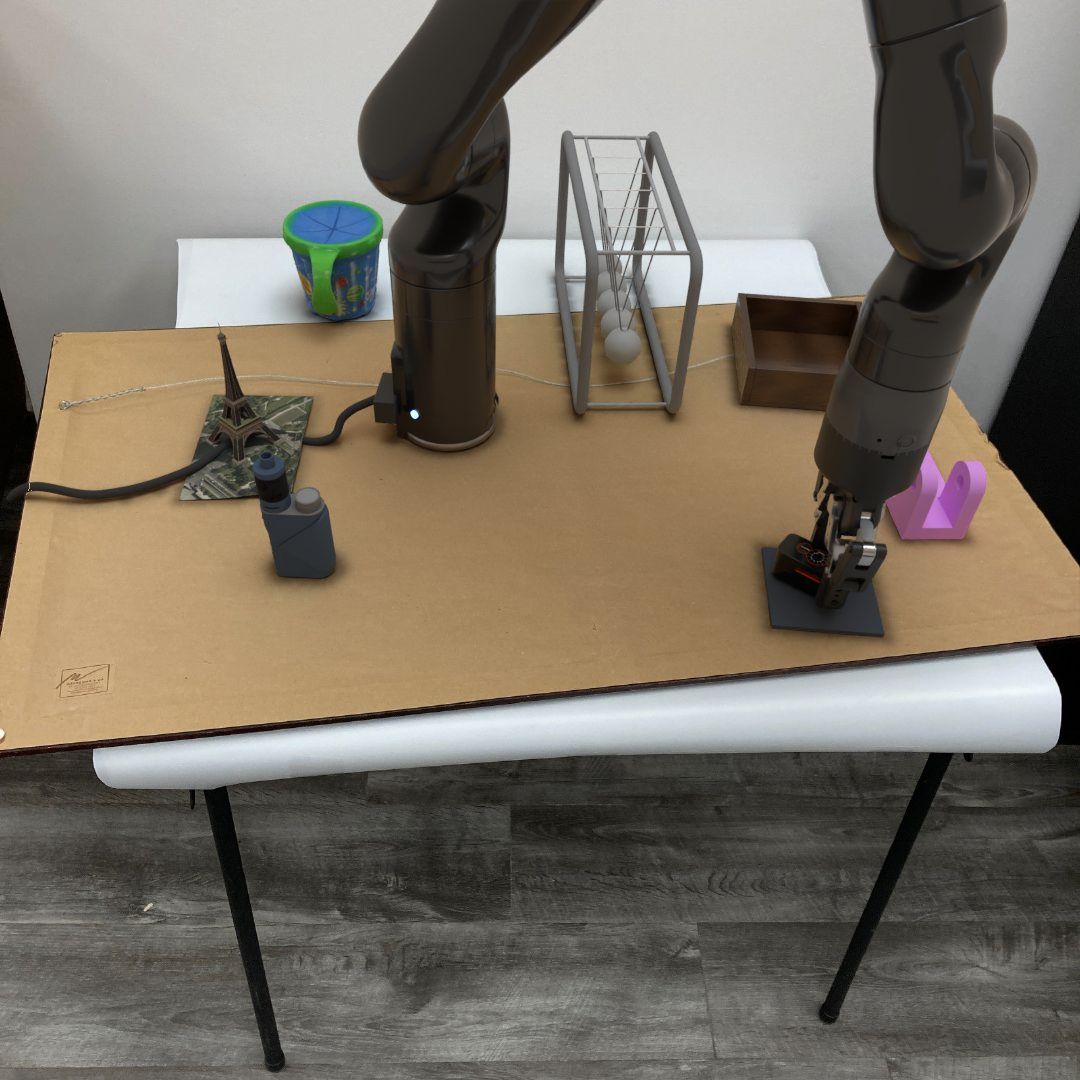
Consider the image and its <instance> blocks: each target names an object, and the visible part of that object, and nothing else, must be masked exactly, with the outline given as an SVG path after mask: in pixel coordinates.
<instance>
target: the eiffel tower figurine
mask: <svg viewBox="0 0 1080 1080" xmlns="http://www.w3.org/2000/svg"><path fill="white" fill-rule="evenodd" d="M217 324H218V328H219V333H218V334H217V335H216V336H217V337H216V339H217V341H218V342H219V348H220V354H221V360H222V361H221V362H222V369H223V377H224V388H225V391H224V394H213V395H212V399H211V401H210V405H209V407H208V411H207V414H206V417H205V420H204V423H203V426H202V428H201V432H200V435H199V438H198V440H197V443H196V446H195V450H194V452H193V456H192V459H191V462H190V464H192V463H194V462H196V461H197V460H199V459H200V458H202V457H203V456H205V455H206V454H207V453H209V452H210V451H211V450H213V449H214V448H215V447H217V446H218V445H219V444H221V443H222V442H224V441H225V440H227V439H229V438H231V440H232V443H233V445H231V446H230V447H228V448H227V449H225V450H224V451H223V452H221V454H220V455H219V456H218V457H217V458H215V459H214V460H213V461H212V462H210V463H209V464H207V465H206V466H205V467H203V468H201V469H200V470H198V471H196V472H195V473H193V474H191V475H189V476H186V477H185V480H184V484H183V487H182V490H181V493H180V496H179V499H178V501H191V500H193V501H194V500H215V499H216V500H217V499H229V498H230V499H231V498H232V499H233V498H240V497H248V496H256V495H257V496H258V491H257V486H256V482H255V477H254V473H253V468H252V466H253V463H254V462H255V461H256V460H257V459H258V458H259V455H260V453H262V452H264V451H270V452H272V453H273V455H274V456H277V457H280V458H281V459H282V460H283V462H284V466H285V471H286V476H287V481H288V487H289V492H290V494H293V493H292V491H293V487H294V482H295V478H296V474H297V469H298V465H299V462H300V456H301V449H302V446H303V444H302V441H303V436H305V431H306V428H307V423H308V419H309V414H310V411H311V408H312V404H313V400H314V396H313V395H255V394H244V392H243V391H242V388H241V385H240V383H239V380H238V377H237V374H236V370H235V367H234V364H233V361H232V358H231V355H230V351H229V348H228V344H227V336H226V335H225V333H223V332H222V330H221V326H220V322H218V323H217ZM270 428H272V429H278V430H283V431H286V432H288V433H290V434H275V433H274V432H273V431H272V430H271V429H270ZM253 432H263V433H265V435H257V436H253V437H249V438H247V437H248V436H249V435H250V434H251V433H253Z"/></svg>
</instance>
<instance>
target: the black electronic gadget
mask: <svg viewBox="0 0 1080 1080" xmlns="http://www.w3.org/2000/svg"><path fill="white" fill-rule="evenodd" d="M777 548H778V549H777V552H776V556H775V559H774V562H773V566H772V574H773V576H774V577H776V578H778V579H780V580H782V581H784V582H786V583H788V584H789V585H791V586H793V587H795V588H797V589H799V590H801V591H803V592H805V593H807V594H809V595H811V596H813V597H814V598H815V596H816V593H817V590H818V587H819V585H820V582H821V579H822V576H823V573H824V569H825V567H826V562H827V557H828V550H827V549H826V548H823V547H821V546H819V545H817V544H815V543H813V542H811V541H810V539H808V538H806V537H803V536H801V535H800V534H798V533H797V534H796V533H789V534H787V535H786V536H785V537H784V538H783V540H782V541H781V542H780V543H779V545H778V546H777ZM841 557H842V556H840V555H839V556H838V560H837V563H838V562H839V561H840V559H841ZM849 593H850V591H849ZM849 593H848V594H849Z"/></svg>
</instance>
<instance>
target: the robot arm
mask: <svg viewBox="0 0 1080 1080" xmlns="http://www.w3.org/2000/svg"><path fill="white" fill-rule="evenodd" d="M604 1H605V0H435V2H434V3H433V6H432V7H431V8H430V11H429V12H428V14H427V16H426V17H425V19H424V20H423V22H422V23H421V24H420V26H419V28H418V29H417V31H416V32H415V33H414V35H413V36H412V37H411V38H410V40H409V41H408V43H407V44H406V45H405V47H404V48H403V50H402V51H400V53H399V54H398V56H397V57H396V59H395V60H394V61H393V63H392V64H391V65H390V66H389V67H388V69H387V70H386V72H385V73H384V74H383V75H382V77H381V78H380V79H379V81H378V82H377V83H376V85H375V86H374V87H373V88H372V90H371V92H370V93H369V94H368V96H367V98H366V99H365V102H364V104H363V106H362V107H361V108H362V109H361V111H360V115H359V119H358V124H357V134H356V135H357V140H356V141H357V149H358V156H359V159H360V163H361V166H362V169H363V171H364V173H365V175H366V177H367V179H368V181H369V182H370V183H371V185H372V186H373V188H375V190H376V191H377V192H378V193H380V194H381V195H382V196H384V197H385V198H387V199H389V200H391V201H392V202H396V203H398V204H401V205H404V207H403V209H402V210H401V212H400V214H399V215H398V217H397V218H396V220H395V221H394V223H393V224H392V225H391V228H390V230H389V233H388V237H387V257H388V267H389V278H390V289H391V290H390V292H391V305H392V319H393V329H394V330H393V333H394V340H393V341H394V342H393V344H392V348H391V350H390V356H389V357H390V367H391V368H390V369H391V372H385V371H384V372H382V373H381V376H380V378H379V379H380V380H379V382H378V385H377V388H376V392H375V394H373V395H371V396H368V397H366V398H363V399H361V400H358V401H357V402H354V403H353V404H351V405H349V406H347V407H346V408H345V409H344V410H342V411H341V412H340V414H339V415H338V417H337V418H336V420H335V423H334V427H333V430H332V431H331V432H330V433H328V434H326V435H324V436H318V437H310V436H305V435H304V436H303V441H302V445H304V446H311V447H323V446H326V445H329V444H332V443H334V442H335V441H337V440H338V439H339V438H340V436H341V435H342V432H343V429H344V426H345V424H346V421H347V420H348V419H349V418H350V417H352V416H353V415H354V414H356V413H358V412H360V411H362V410H365V409H367V408H369V407H372V406H373V415H374V423H375V424H386V425H395V428H396V436H397V437H398V438H402V439H404V438H405V439H408V440H410V442H412V443H414V444H416V445H418V446H419V447H421V448H425V449H428V450H431V451H432V450H433V451H440V452H455V451H462V450H466V449H471V448H473V447H476V446H478V445H480V444H482V443H483V442H484V441H486V440H487V439H488V438H489V437H490V436H491V435H492V434H493V433H494V431H495V429H496V426H497V411H496V410H497V406H498V407H499V406H500V404H499V402H500V400H499V399H500V398H499V395H498V393H497V390H496V384H497V383H496V381H497V380H496V379H497V377H496V374H497V373H496V371H497V369H496V368H497V367H496V363H497V362H496V361H497V358H496V357H497V251H498V247H499V244H500V242H501V240H502V237H503V234H504V231H505V228H506V222H507V215H508V199H509V187H510V186H509V183H510V168H511V167H510V166H511V123H510V117H509V112H508V107H507V103H506V100H505V98H504V97H505V96H506V95H507V94H508V92H509V91H510V90H511V89H512V88H513V87H514V86H515V85H516V84H517V83H518V82H519V81H520V80H521V79H522V78H523V77H524V76H525V75H526V74H528V72H530V71H531V70H532V69H533V68H534V67H535V66H536V65H538V64H539V63H540V62H541V61H542V60H543V59H544V58H545V57H547V56H548V55H549V54H550V53H552V51H553V50H554V49H556V48H557V47H558V46H559V45H560V44H562V42H564V41H565V39H567V37H568V36H570V35H571V34H572V33H573V32H574V31H575V30H576V29H577V28H578V27H579V26H580V25H581V24H582V23H583V22H585V20H586V19H588V18H589V17H590V16H591V15H592V14H593V13H594V12H595V11H596V10H597V9H598V8H599V7H600V5H602V4H603V2H604ZM860 1H861V7H862V13H863V18H864V24H865V31H866V36H867V37H866V38H867V43H868V44H869V53H870V57H871V61H872V62H871V63H872V65H873V70H874V79H875V80H874V82H875V83H874V102H873V114H872V117H873V118H872V186H873V196H874V204H875V208H876V213H877V217H878V221H879V223H880V226H881V229H882V231H883V234H884V235H885V237H886V239H887V241H888V242H889V244H890V246H891V247H892V248H893V251H892V253H891V255H890V257H889V259H888V261H887V262H886V264H885V265H884V267H883V268H882V270H881V271H880V272H879V273H878V275H877V276H876V277H875V278H874V280H873V281H872V282H871V284H870V285H869V288H868V289H867V291H866V293H865V296H864V298H863V300H862V302H863V303H862V306H861V309H860V311H859V314H858V318H857V321H856V325H855V328H854V331H853V334H852V338H851V341H850V344H849V348H848V351H847V354H846V356H845V358H844V360H843V362H842V364H841V366H840V369H839V371H838V373H837V376H836V379H835V382H834V385H833V388H832V392H831V395H830V398H829V402H828V405H827V408H826V411H824V414H823V419H822V422H821V425H820V427H819V428H820V429H819V431H818V436H817V439H816V442H815V445H814V448H813V458H814V459H813V460H814V463H815V466H816V468H817V469H818V472H817V478H816V481H815V486H814V491H813V493H812V497H813V502H815V503H817V506H816V508H815V511H814V513H813V518H814V522H815V524H814V526H813V530H812V533H811V535H810V539H809V541H811V542H813V543H815V544H817V545H819V546H821V547H823V548H826V549H827V550H828V557H827V562H826V567H825V569H824V573H823V576H822V579H821V582H820V585H819V587H818V590H817V593H816V596H815V601H816V606H817V607H819V608H829V609H840V608H842V607H843V606H844V604H845V601H846V598H847V596H848V593H849V591H857V592H865V590H866V589H867V587H868V585H869V584H870V582H871V581H872V582H873V579H874V578H875V576H876V574H877V573H878V571H879V569H880V568H881V566H882V565H883V563H884V562H885V560H886V558H887V555H888V546H887V544H886V543H881V542H876V538H877V533H878V528H879V524H881V522H882V521H883V520H884V517H885V512H886V508H887V505H886V500H887V499H889V498H891V497H893V496H895V495H897V494H899V493H902V492H903V491H905V490H907V489H908V488H909V487H910V486H911V485H912V484H913V483H914V482H915V480H916V478H917V475H918V473H919V470H920V468H921V465H922V463H923V460H924V458H925V455H926V453H927V450H928V451H929V447H930V445H931V443H932V440H933V438H934V436H935V433H936V430H937V428H938V426H939V423H940V420H941V418H942V415H943V414H944V410H945V408H946V406H947V405H946V404H947V401H948V397H949V392H950V387H951V383H952V380H953V377H954V375H955V372H956V370H957V367H958V365H959V362H960V360H961V358H962V355H963V352H964V350H965V347H966V345H967V342H968V339H969V336H970V334H971V331H972V328H973V324H974V321H975V317H976V315H977V313H978V310H979V308H980V305H981V303H982V300H983V298H984V296H985V294H986V292H987V290H988V289H989V288H990V286H991V284H992V283H993V281H994V278H995V276H996V275H997V273H998V271H999V269H1000V267H1001V265H1002V264H1003V262H1004V260H1005V257H1006V256H1007V254H1008V252H1009V250H1010V248H1011V246H1012V244H1013V242H1014V240H1015V238H1016V236H1017V234H1018V233H1019V231H1020V228H1021V226H1022V224H1023V222H1024V219H1025V217H1026V215H1027V213H1028V210H1029V208H1030V206H1031V203H1032V202H1033V198H1034V196H1035V192H1036V189H1037V184H1038V179H1039V158H1038V153H1037V149H1036V147H1035V145H1034V141H1033V140H1032V138H1031V136H1030V135H1029V133H1028V132H1027V131H1026V129H1024V127H1023V126H1021V125H1020V124H1019V123H1017V121H1015V120H1013V119H1012V118H1009V117H1008V116H1004V115H1001V114H996V113H994V78H995V74H996V71H997V69H998V67H999V65H1000V63H1001V61H1002V59H1003V57H1004V54H1005V52H1006V49H1007V45H1008V31H1009V30H1008V28H1009V27H1008V24H1009V23H1008V9H1007V2H1006V0H860ZM496 405H497V406H496ZM270 429H271V430H272V431H273V432H274V433H275V434H290V433H288V432H286V431H283V430H278V429H272V428H270ZM257 435H265V433H263V432H253V433H251V434H250V435H249V436H248V437H247V438H249V437H253V436H257ZM231 445H233V443H232V440H231V438H229V439H227V440H225V441H224V442H222V443H221V444H219V445H218V446H217V447H215V448H214V449H213V450H211V451H210V452H209V453H207V454H206V455H205V456H203V457H202V458H200V459H199V460H197V461H196V462H194V463H192V464H191V463H190V464H188V465H187V466H184V467H182V468H180V469H177V470H174V471H172V472H171V471H170V472H169V473H166V474H163V475H161V476H158V477H154V478H151V479H148V480H144V481H142V482H138V483H134V484H130V485H125V486H118V487H114V488H113V487H112V488H106V489H94V490H93V489H79V488H75V487H70V486H65V485H60V484H56V483H52V482H51V483H50V482H45V481H29V482H26V483H22V484H20V485H17V486H16V487H14V488H13V489H12V490H10V492H9V493H8V494H7V495H6V498H5V500H6V501H8V502H12V501H16V500H18V499H19V498H20V497H22V496H23V495H25V494H28V493H32V492H43V493H49V494H54V495H59V496H63V497H68V498H72V499H79V500H88V501H89V500H90V501H91V500H92V501H93V500H94V501H96V500H109V499H115V498H121V497H127V496H132V495H135V494H136V495H137V494H140V493H144V492H148V491H151V490H154V489H157V488H160V487H163V486H166V485H168V484H171V483H174V482H177V481H179V480H181V479H184V478H186V477H187V476H189V475H191V474H193V473H195V472H196V471H198V470H200V469H201V468H203V467H205V466H206V465H207V464H209V463H210V462H212V461H213V460H214V459H215V458H217V457H218V456H219V455H220V454H221V452H223V451H224V450H225V449H227V448H228V447H230V446H231ZM29 483H30V489H29ZM28 489H29V491H28ZM31 490H32V491H31ZM842 536H844V537H854V538H855V539H852V538H851V539H849V538H842ZM840 554H843V555H842V557H841V559H840V561H839V562H838V563H837V560H838V556H839V555H840Z"/></svg>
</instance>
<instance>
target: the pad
mask: <svg viewBox="0 0 1080 1080" xmlns="http://www.w3.org/2000/svg"><path fill="white" fill-rule="evenodd" d="M777 549H778V547H770V546H762V547H761V557H762V564H763V573H764V580H765V588H766V589H765V591H766V597H767V606H768V613H769V620H770V621H769V622H770V628H771V629H780V630H791V631H804V632H805V631H806V632H816V633H828V634H829V633H830V634H842V635H853V636H855V635H856V636H866V637H878V638H879V637H880V638H884V637H885V635H886V634H885V629H884V626H883V622H882V621H883V620H882V616H881V612H880V608H879V603H878V600H877V594H876V591H875V587H874V583H873V580H872V581H871V582H870V584H869V585H868V587H867V589H866V590H865V592H857V591H850V593H849V594H848V596H847V598H846V601H845V604H844V606H843V607H842V608H840V609H829V608H819V607H817V606H816V601H815V598H814V597H813V596H811V595H809V594H807V593H805V592H803V591H801V590H799V589H797V588H795V587H793V586H791V585H789V584H788V583H786V582H784V581H782V580H780V579H778V578H776V577H774V576H773V574H772V566H773V562H774V559H775V556H776V552H777ZM842 555H843V554H840V556H842Z"/></svg>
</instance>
